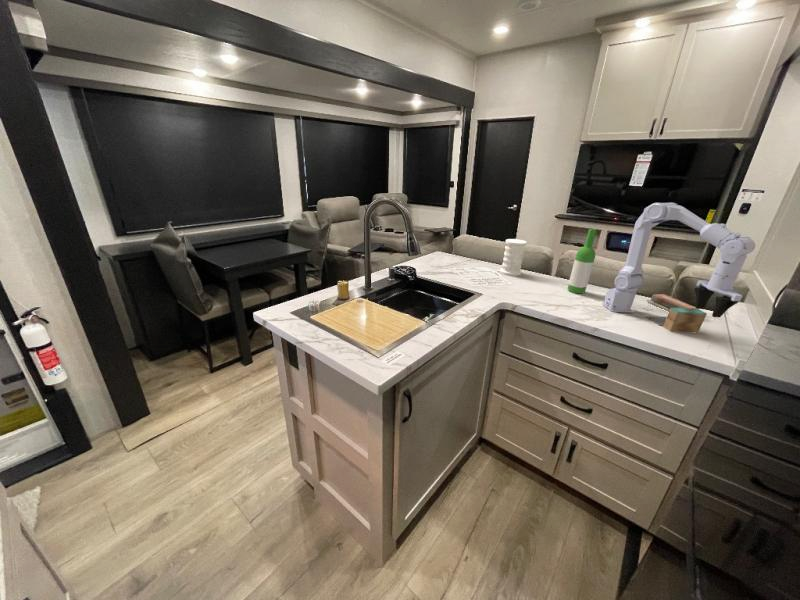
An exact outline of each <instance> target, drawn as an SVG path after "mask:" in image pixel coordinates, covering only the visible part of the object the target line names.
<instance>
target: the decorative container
mask: <svg viewBox="0 0 800 600" xmlns="http://www.w3.org/2000/svg"><path fill="white" fill-rule="evenodd" d="M505 244H506V245H505V246H504V249H505V250H504V253H503V255H504V256H503V259H502V260H503V261H502V264H501V265H502V267H501V268H499V269H500V270H499V273H501V274H502V275H505V276H509V277H520V276H521V275H522V270H521V268H522V263H523V259H524V255H525V254H524V252H525V246H527V245H528V244H527V241H526V240H524V239H518V238H507V239H505Z"/></svg>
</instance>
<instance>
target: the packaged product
mask: <svg viewBox="0 0 800 600" xmlns="http://www.w3.org/2000/svg"><path fill="white" fill-rule="evenodd" d="M646 302H648V303H647V304H649V303H650V304H649V305H651V304H652V305H651V306H653V305H654V306H653V307H655V306H656V307H655V308H657V307H659V308H661V309H664V310H666V311H668V312H669V311H670V308H685V309H697V308H696V306H694V305H691V304H689V303H686V302H684V301H682V300H679V299H677V298H674V297H672V296H669V295H667V294H664V293H660V294H659V293H657V294H652V296H651V298H650V300H649V299H648V300H646ZM659 308H658V309H659ZM661 309H660V310H661ZM664 310H663V311H664ZM699 310H701V309H699ZM666 311H665V312H666ZM668 312H667V313H668Z"/></svg>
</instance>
